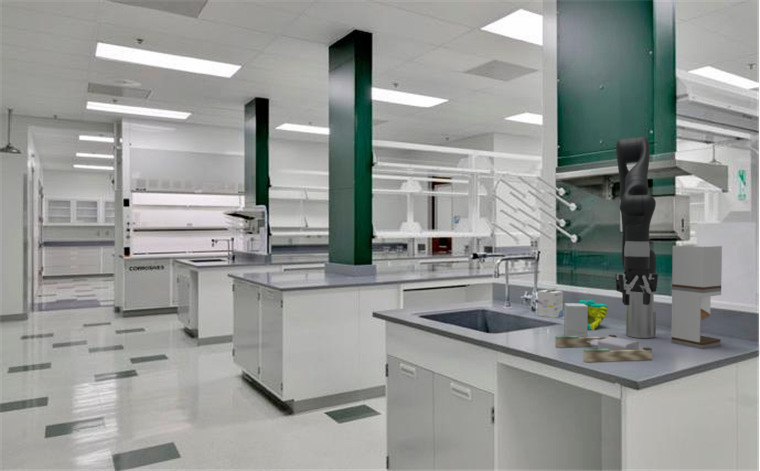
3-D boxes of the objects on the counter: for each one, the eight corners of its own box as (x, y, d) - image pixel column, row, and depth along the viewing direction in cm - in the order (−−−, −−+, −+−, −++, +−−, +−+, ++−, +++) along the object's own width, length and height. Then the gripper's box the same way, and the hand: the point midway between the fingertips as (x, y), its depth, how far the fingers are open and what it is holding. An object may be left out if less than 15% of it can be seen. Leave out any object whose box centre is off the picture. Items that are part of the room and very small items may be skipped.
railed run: (614, 344, 177) (614, 334, 177) (651, 359, 158) (651, 348, 157) (555, 346, 175) (555, 336, 174) (585, 362, 155) (586, 350, 155)
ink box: (546, 313, 240) (546, 285, 240) (563, 316, 234) (563, 287, 234) (537, 315, 235) (537, 287, 234) (553, 318, 228) (554, 288, 228)
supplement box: (587, 340, 184) (588, 306, 184) (566, 339, 185) (566, 305, 185) (583, 336, 191) (584, 303, 191) (563, 335, 193) (563, 302, 192)
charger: (595, 346, 176) (639, 355, 164) (581, 350, 170) (625, 359, 158) (595, 333, 176) (639, 340, 164) (581, 336, 170) (625, 345, 158)
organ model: (603, 315, 197) (572, 297, 204) (590, 338, 203) (560, 320, 210) (615, 303, 209) (585, 287, 215) (602, 326, 214) (573, 309, 221)
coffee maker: (702, 348, 172) (703, 246, 171) (671, 342, 181) (672, 245, 180) (720, 345, 177) (721, 246, 177) (689, 339, 187) (691, 245, 186)
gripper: (649, 254, 172) (648, 302, 172) (610, 254, 170) (609, 303, 170) (664, 255, 164) (663, 306, 165) (623, 255, 162) (622, 307, 163)
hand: (636, 304), depth 167 cm, fingers open, 6 cm apart
